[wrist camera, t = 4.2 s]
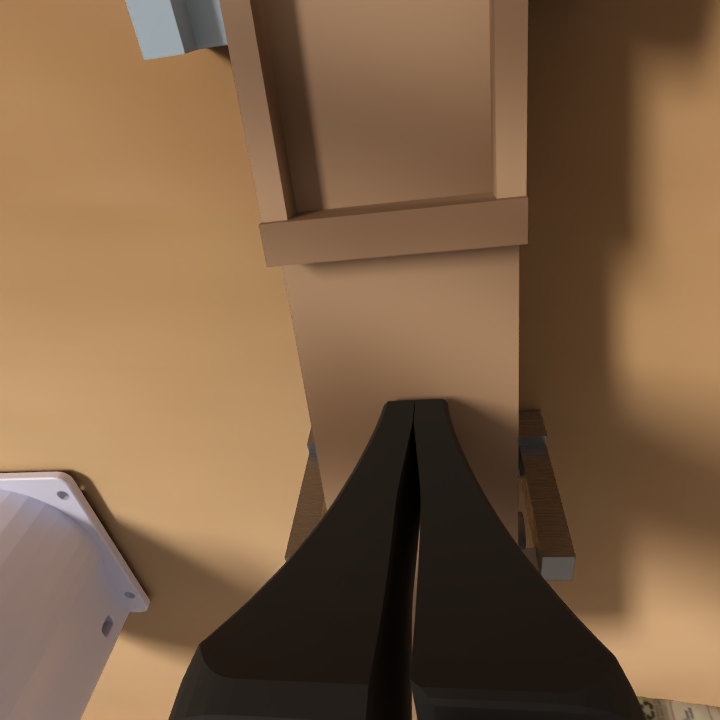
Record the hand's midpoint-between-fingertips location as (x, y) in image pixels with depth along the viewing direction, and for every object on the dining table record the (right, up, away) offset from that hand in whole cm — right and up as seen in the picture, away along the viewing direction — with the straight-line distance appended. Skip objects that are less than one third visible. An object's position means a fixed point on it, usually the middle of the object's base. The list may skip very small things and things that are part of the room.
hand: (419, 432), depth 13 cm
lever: (0, 0, +3) cm, 3 cm away
